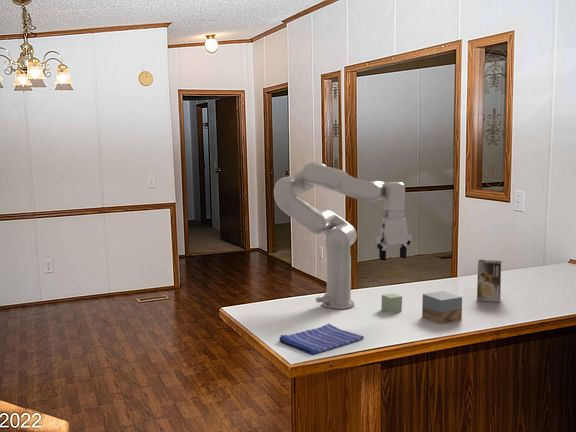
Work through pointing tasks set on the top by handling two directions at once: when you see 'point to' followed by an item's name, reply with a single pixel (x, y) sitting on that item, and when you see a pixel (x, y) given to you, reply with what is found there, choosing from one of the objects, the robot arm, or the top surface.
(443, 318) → the walnut block
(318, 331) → the dish towel
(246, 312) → the top surface
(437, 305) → the grey square block
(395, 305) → the sage block
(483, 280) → the coffee box
